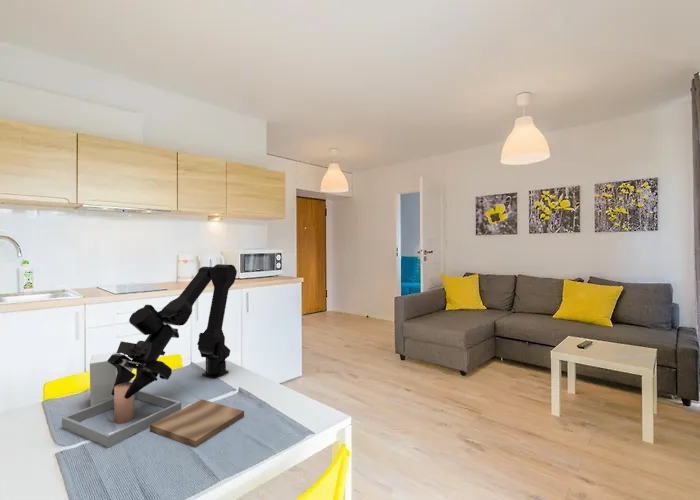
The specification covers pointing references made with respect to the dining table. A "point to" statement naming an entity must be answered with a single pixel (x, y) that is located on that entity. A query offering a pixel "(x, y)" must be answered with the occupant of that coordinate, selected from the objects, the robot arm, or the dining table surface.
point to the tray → (108, 440)
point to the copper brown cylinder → (123, 403)
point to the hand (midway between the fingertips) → (119, 396)
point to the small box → (101, 378)
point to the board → (197, 422)
